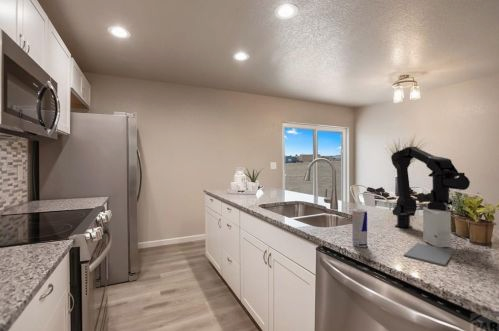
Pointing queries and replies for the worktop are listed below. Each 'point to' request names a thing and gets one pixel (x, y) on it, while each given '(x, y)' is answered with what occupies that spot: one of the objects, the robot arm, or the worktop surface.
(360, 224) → the beverage can
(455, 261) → the worktop surface
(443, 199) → the robot arm
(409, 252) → the mat
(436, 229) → the skincare box
